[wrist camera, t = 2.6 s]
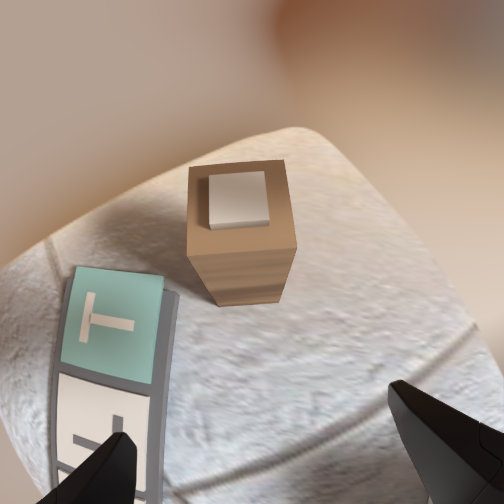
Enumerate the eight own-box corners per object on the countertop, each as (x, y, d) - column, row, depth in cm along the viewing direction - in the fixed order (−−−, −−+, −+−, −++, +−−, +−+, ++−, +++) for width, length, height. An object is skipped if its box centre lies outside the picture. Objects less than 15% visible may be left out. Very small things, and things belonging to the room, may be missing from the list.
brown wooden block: (278, 302, 23) (299, 242, 12) (218, 306, 23) (183, 250, 12) (273, 246, 24) (284, 151, 13) (216, 250, 24) (186, 159, 13)
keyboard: (163, 560, 14) (158, 569, 12) (65, 525, 14) (57, 531, 13) (181, 282, 23) (175, 276, 22) (77, 270, 24) (67, 264, 22)
